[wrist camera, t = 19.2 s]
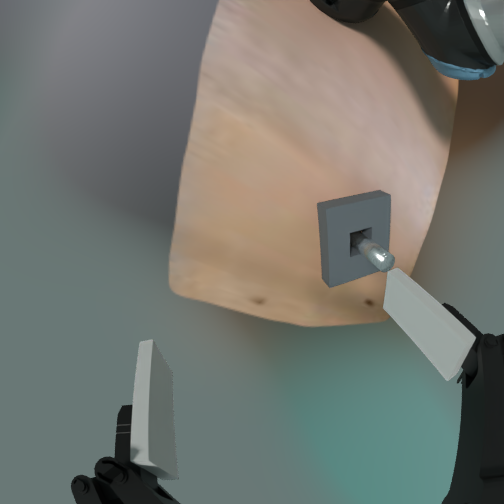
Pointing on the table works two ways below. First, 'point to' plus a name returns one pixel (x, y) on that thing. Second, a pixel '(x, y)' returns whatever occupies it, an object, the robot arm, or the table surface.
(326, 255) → the hole block
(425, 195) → the table surface
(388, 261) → the peg
